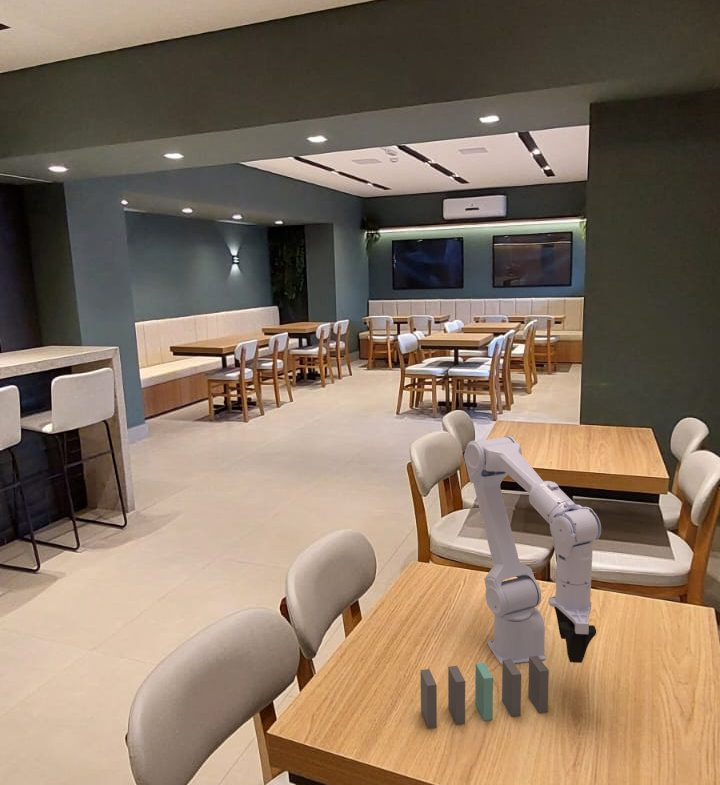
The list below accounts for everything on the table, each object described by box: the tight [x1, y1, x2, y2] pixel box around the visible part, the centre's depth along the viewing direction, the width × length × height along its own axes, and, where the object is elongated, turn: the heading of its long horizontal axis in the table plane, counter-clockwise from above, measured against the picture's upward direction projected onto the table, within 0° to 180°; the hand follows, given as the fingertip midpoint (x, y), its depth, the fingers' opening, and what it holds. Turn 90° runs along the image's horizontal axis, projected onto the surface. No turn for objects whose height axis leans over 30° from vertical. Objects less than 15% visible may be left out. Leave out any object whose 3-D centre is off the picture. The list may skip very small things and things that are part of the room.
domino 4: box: [527, 656, 550, 714], centre depth 108 cm, size 2×4×8 cm, turn 9°
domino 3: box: [501, 659, 522, 718], centre depth 107 cm, size 2×4×8 cm, turn 9°
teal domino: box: [474, 661, 494, 722], centre depth 106 cm, size 2×4×8 cm, turn 8°
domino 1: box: [420, 668, 438, 730], centre depth 105 cm, size 2×4×8 cm, turn 9°
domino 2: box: [447, 665, 466, 726], centre depth 106 cm, size 2×4×8 cm, turn 9°
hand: (571, 649), depth 108 cm, fingers open, 6 cm apart
